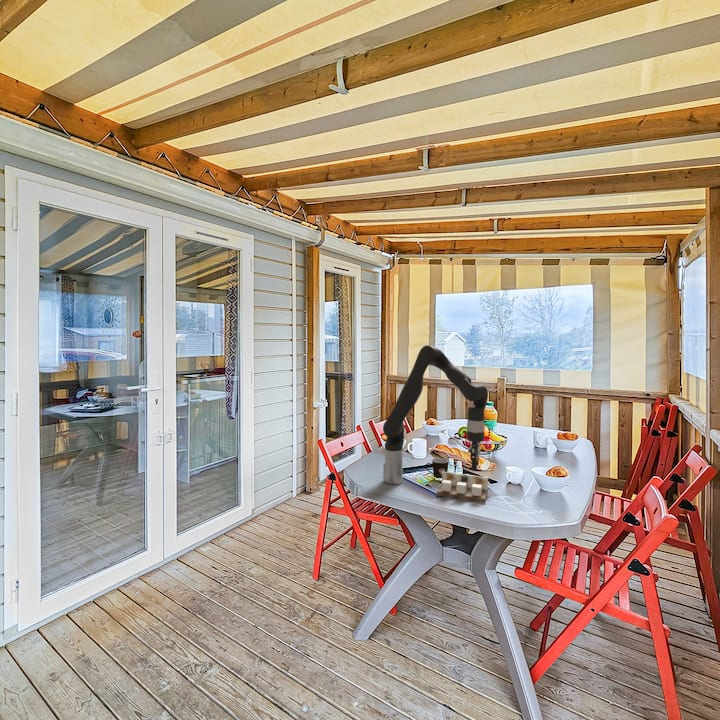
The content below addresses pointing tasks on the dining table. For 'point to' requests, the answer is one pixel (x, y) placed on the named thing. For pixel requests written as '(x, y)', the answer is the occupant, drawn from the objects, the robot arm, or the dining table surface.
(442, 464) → the coffee mug
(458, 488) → the switch middle
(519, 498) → the dining table surface
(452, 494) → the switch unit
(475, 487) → the switch right
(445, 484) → the switch left
